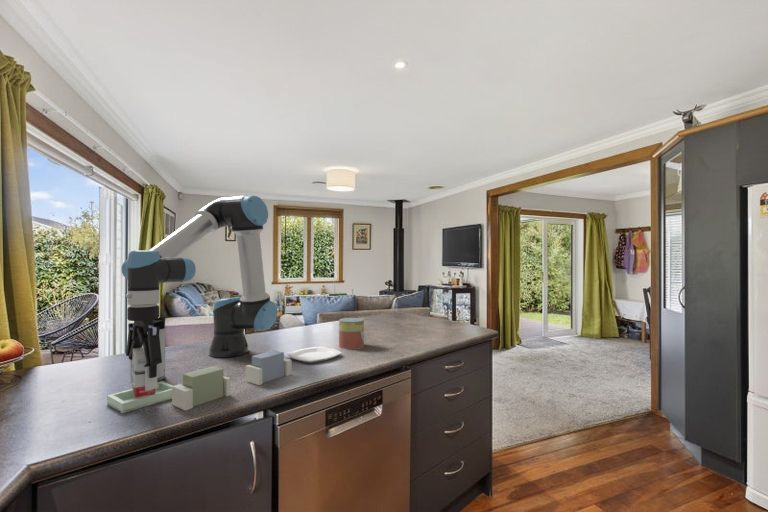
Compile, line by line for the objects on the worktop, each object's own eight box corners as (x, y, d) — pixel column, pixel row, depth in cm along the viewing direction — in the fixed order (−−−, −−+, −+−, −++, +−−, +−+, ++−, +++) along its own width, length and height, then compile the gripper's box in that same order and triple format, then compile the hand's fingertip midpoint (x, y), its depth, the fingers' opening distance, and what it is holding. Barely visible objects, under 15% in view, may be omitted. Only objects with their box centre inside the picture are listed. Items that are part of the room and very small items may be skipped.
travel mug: (170, 377, 123) (170, 317, 123) (152, 383, 117) (152, 320, 117) (156, 375, 125) (156, 316, 125) (138, 381, 119) (138, 319, 119)
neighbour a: (182, 402, 101) (182, 373, 101) (213, 392, 109) (213, 366, 109) (192, 407, 98) (192, 377, 98) (223, 396, 106) (223, 368, 106)
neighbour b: (251, 380, 119) (251, 356, 119) (274, 373, 127) (274, 350, 127) (261, 383, 116) (261, 358, 116) (283, 376, 124) (283, 352, 124)
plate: (348, 357, 148) (348, 352, 148) (308, 368, 134) (308, 362, 134) (319, 349, 161) (319, 344, 161) (280, 358, 147) (280, 353, 147)
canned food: (363, 349, 159) (363, 321, 159) (337, 349, 159) (337, 321, 159) (364, 343, 170) (364, 317, 170) (340, 343, 170) (340, 317, 170)
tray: (107, 404, 100) (107, 395, 100) (162, 389, 111) (162, 381, 111) (122, 413, 94) (122, 403, 94) (178, 396, 106) (178, 387, 106)
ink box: (156, 393, 101) (156, 351, 101) (134, 398, 98) (134, 354, 98) (151, 385, 108) (151, 345, 108) (131, 389, 104) (131, 348, 104)
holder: (172, 404, 100) (172, 386, 100) (278, 370, 129) (278, 356, 129) (185, 410, 96) (185, 391, 96) (291, 374, 125) (291, 359, 125)
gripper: (112, 303, 106) (111, 381, 106) (146, 310, 93) (145, 398, 93) (141, 301, 112) (140, 374, 112) (176, 306, 100) (176, 389, 99)
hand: (143, 385), depth 103 cm, fingers closed on ink box, 9 cm apart
